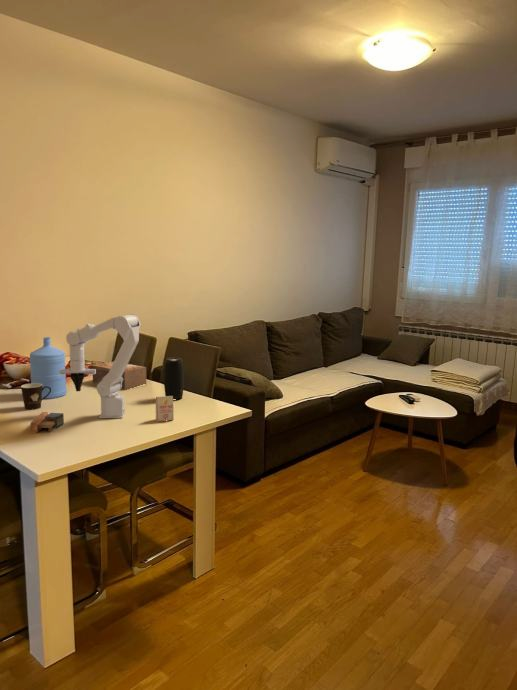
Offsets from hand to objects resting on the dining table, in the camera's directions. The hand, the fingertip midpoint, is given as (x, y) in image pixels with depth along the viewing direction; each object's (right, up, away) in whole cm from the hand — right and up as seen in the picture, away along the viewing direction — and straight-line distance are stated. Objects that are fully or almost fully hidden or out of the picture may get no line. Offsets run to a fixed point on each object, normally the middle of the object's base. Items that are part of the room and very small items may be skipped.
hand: (78, 390), depth 212 cm
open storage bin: (-3, -12, -17) cm, 21 cm away
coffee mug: (-21, -8, +7) cm, 24 cm away
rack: (-5, -12, -19) cm, 23 cm away
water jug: (-24, -5, +29) cm, 38 cm away
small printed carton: (+38, -12, -7) cm, 40 cm away
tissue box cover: (+2, -2, +54) cm, 54 cm away
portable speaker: (+36, -6, +26) cm, 45 cm away
